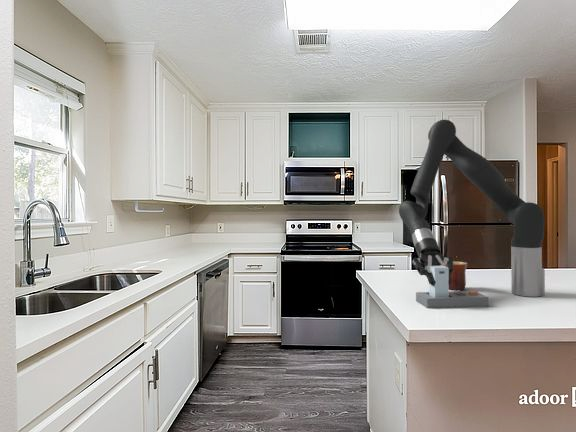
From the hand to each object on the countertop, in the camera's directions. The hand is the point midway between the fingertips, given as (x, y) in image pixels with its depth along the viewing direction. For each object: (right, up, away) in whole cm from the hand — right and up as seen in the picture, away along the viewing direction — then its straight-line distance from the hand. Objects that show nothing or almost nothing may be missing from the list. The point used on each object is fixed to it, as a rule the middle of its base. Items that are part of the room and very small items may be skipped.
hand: (441, 284), depth 117 cm
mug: (+14, -7, +25) cm, 29 cm away
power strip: (+4, -7, +2) cm, 8 cm away
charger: (0, -5, +2) cm, 5 cm away
